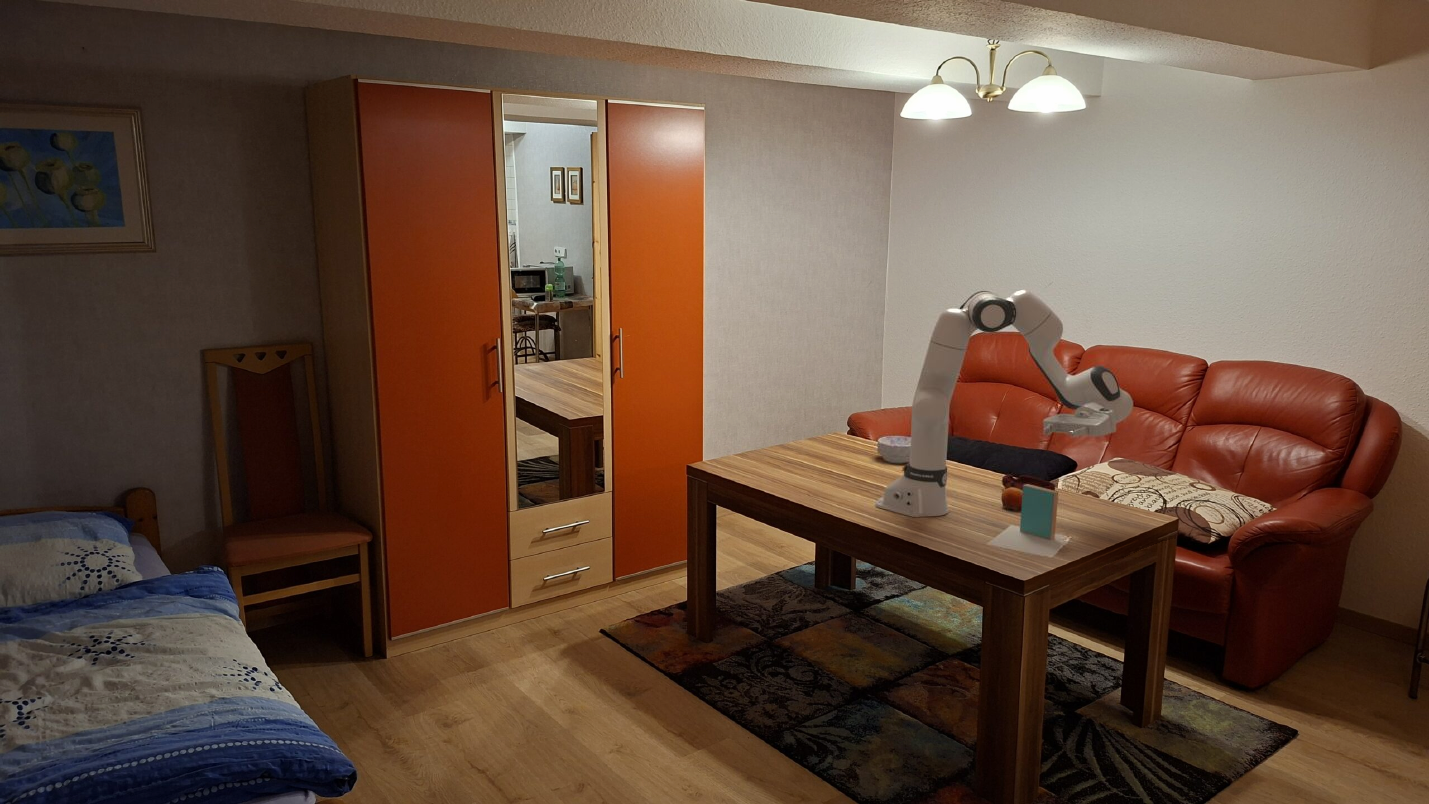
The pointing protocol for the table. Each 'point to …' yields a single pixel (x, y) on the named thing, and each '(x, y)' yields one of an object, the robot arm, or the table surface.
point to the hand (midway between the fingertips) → (1058, 433)
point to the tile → (1039, 511)
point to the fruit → (1012, 498)
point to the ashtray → (1025, 482)
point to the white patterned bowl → (895, 449)
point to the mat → (1027, 542)
